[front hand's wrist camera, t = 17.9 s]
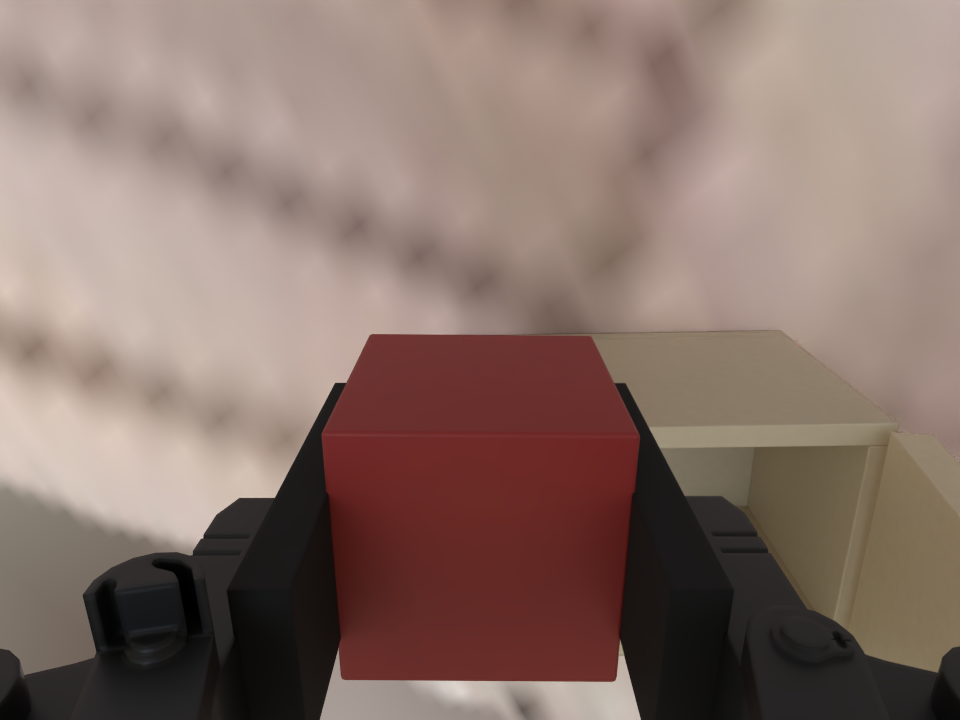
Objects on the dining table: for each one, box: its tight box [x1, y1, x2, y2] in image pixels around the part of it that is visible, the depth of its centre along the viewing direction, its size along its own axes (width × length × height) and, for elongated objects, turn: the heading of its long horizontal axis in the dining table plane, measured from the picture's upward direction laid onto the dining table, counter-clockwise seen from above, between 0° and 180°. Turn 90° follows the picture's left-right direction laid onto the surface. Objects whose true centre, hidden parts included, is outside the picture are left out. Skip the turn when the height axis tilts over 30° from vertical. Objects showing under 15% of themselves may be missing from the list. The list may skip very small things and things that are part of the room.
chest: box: [535, 331, 899, 656], centre depth 29 cm, size 15×10×10 cm, turn 91°
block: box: [322, 334, 640, 682], centre depth 13 cm, size 5×5×5 cm
